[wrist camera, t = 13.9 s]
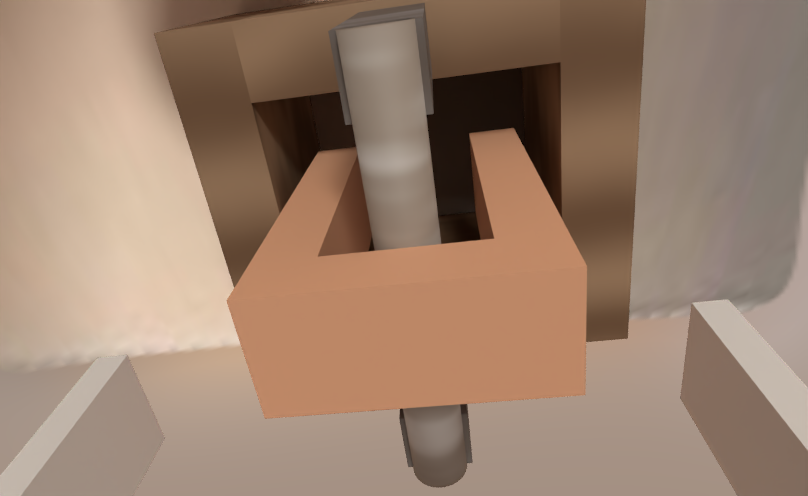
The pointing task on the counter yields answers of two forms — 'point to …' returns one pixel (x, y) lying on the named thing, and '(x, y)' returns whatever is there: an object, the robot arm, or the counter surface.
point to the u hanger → (414, 298)
